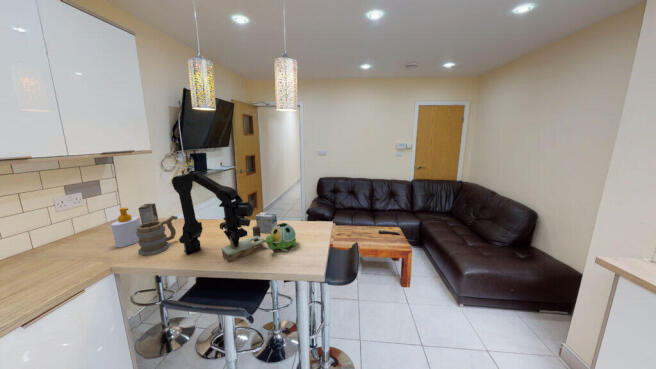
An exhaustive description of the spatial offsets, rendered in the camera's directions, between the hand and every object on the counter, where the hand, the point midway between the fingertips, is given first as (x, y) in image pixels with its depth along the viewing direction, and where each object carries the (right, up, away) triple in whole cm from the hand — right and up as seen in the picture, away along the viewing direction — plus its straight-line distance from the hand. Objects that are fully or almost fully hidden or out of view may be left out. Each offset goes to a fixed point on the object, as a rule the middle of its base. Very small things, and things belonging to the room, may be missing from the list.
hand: (235, 245), depth 117 cm
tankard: (-44, -4, +13) cm, 46 cm away
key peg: (+6, -1, +16) cm, 17 cm away
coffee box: (-68, +1, +37) cm, 77 cm away
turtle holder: (+22, -3, +7) cm, 23 cm away
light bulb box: (+9, +1, +29) cm, 30 cm away
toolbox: (+3, -4, +4) cm, 7 cm away
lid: (+3, -1, +3) cm, 5 cm away
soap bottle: (-67, -3, +19) cm, 69 cm away
